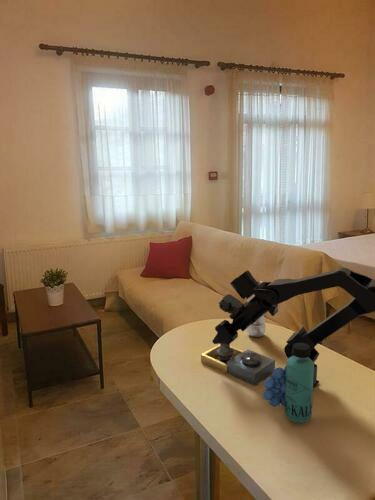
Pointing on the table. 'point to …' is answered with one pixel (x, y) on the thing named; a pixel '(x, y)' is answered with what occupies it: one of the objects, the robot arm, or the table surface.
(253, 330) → the plastic bottle
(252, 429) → the table surface
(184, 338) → the table surface
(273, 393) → the grapes
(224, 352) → the dark grey tall piece
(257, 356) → the two-tone flat frame block
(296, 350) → the beverage bottle
